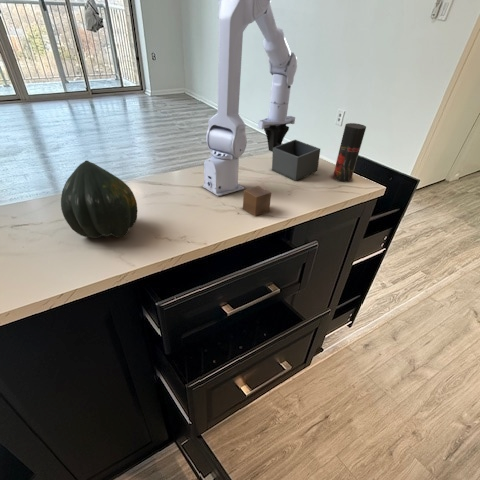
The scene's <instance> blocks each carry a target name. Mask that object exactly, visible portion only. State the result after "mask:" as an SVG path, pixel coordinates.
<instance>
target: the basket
mask: <svg viewBox="0 0 480 480" xmlns="http://www.w3.org/2000/svg"><path fill="white" fill-rule="evenodd" d="M320 155H321V148H319V147H316V146H314V145H312V144H308V143H306V142H302V141H301V140H298V139H293V140H290V141H287V142H284V143H281V144H279V143H276V146H275V147H274V148H273V152H272V158H271V162H272V164H271V171H273V172H275V173H277V174H280V175H281V176H284V177H285V178H288V179H291V180H292V181H295V182H297V181H299V180H302V179H304V178H306V177H308V176H310V175H312V174H315V173H317V172H318V168H319V162H320Z"/></svg>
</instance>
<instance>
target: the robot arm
mask: <svg viewBox="0 0 480 480" xmlns="http://www.w3.org/2000/svg"><path fill="white" fill-rule="evenodd" d="M271 2H272V0H218V61H217V68H218V69H217V112H216V113H215V114H214V115H213V116H212V117H210V118H209V119H208V121H207V124H208V126H207V131H206V134H205V135H206V136H205V142H206V146H207V149H208V150H210V155H211V156H210V157H209V158H206V159H205V160H204V163H203V183H204V184H203V185H202V187H203V188H204V189H206V190H208V191H209V192H211V193H212V194H214V195H216V196H217V197H221V196H224V195H228V194H232V193H235V192H238V191H242V190H245V187H244V186H242V185H241V184H239V167H240V158H241V157H242V156H243V154H244V153H245V151H246V148H247V144H248V143H247V142H248V140H247V139H248V138H247V133H246V127H247V126H246V124H245V122H244V120H243V118H242V117H241V116H240V114H239V112H240V111H239V109H240V95H241V93H240V92H241V75H242V55H243V38H244V32H245V30H246V29H247V27H248V26H249V25H250V24H252V23H254V22H255V23H256V25H257V27H258V29H259V31H260V32H261V34H262V36H263V41H262V46H263V49H264V51H265V53H266V55H267V57H268V64H269V65H268V67H269V73H270V74H271V76H272V78H271V90H270V99H269V110H268V116H266V118H263V119H259V120H258V121H257V128H258V129H260V130H264V132H265V136H266V140H267V147H268V151H270V152H272V153H273V148H274V147H275V146H276V143H279V144H281V145H282V144H283V141H284V139H285V136H286V135H287V133H288V132H289V130H290V126H288V125H294V124H296V123H295V122H296V117H295V116H293V115H288V110H289V103H290V96H291V95H290V94H291V88H292V85H293V83H294V79H295V76H296V73H297V71H298V70H297V69H298V57H297V55H295V53H294V52H291V49H290V46H289V44H288V41H287V38H286V35H285V32H284V30H283V29H282V28H281V27H277V23H276V19H275V17H274V13H273V10H272V6H271Z"/></svg>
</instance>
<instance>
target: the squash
mask: <svg viewBox="0 0 480 480" xmlns="http://www.w3.org/2000/svg"><path fill="white" fill-rule="evenodd" d="M137 202H138V201H137V199H136V197H135V194H134V192H133V191H132V189H131V188H130V186H129V185H128V184H127V183H125V182H124V180H122V179H120V178H119V177H118V176H116V175H114V174H112V173H111V172H109V171H107V170H106V169H105V168H102V167H101V166H99V165H98V164H96V163H94V162H91V161H89V160H88V159H87V160H84V161H83V162H82V163H80V164H79V165H78V166H77V167H76V168H75V169H74V171H73V172H72V173H71V174H70V175H69V177H68V178H67V179H66V181H65V183H64V185H63V188H62V191H61V197H60V208H61V209H60V210H61V213H62V216H63V217H64V220H65V222H66V224H68V226H69V227H70V228H71V230H72V231H74V232H75V233H76V234H78V235H79V236H81V237H84V238H93V239H98V238H100V237H102V236H103V237H109V236H110V235H112V236H114V237H116V238H122V237H124V236H126V235H127V234H128V233H129V230H130V229H131V228H133V227H134V225H136V222H137V220H138V219H137V217H138V212H139V211H138V203H137Z"/></svg>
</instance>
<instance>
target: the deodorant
mask: <svg viewBox="0 0 480 480" xmlns="http://www.w3.org/2000/svg"><path fill="white" fill-rule="evenodd" d="M366 129H367V126H366V125H364V124H360V123H355V122H349V123H345V125H344V129H343V132H342V133H343V134H342V138H341V141H340V146H339V150H338V154H337V157H336V162H335V165H334V169H333V174H332V179H333V180H335V181H338V182H342V183H347V182H351V181H352V178H353V175H354V172H355V168H356V165H357V161H358V157H359V154H360V149H361V148H362V144H363V140H364V136H365V133H366Z"/></svg>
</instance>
